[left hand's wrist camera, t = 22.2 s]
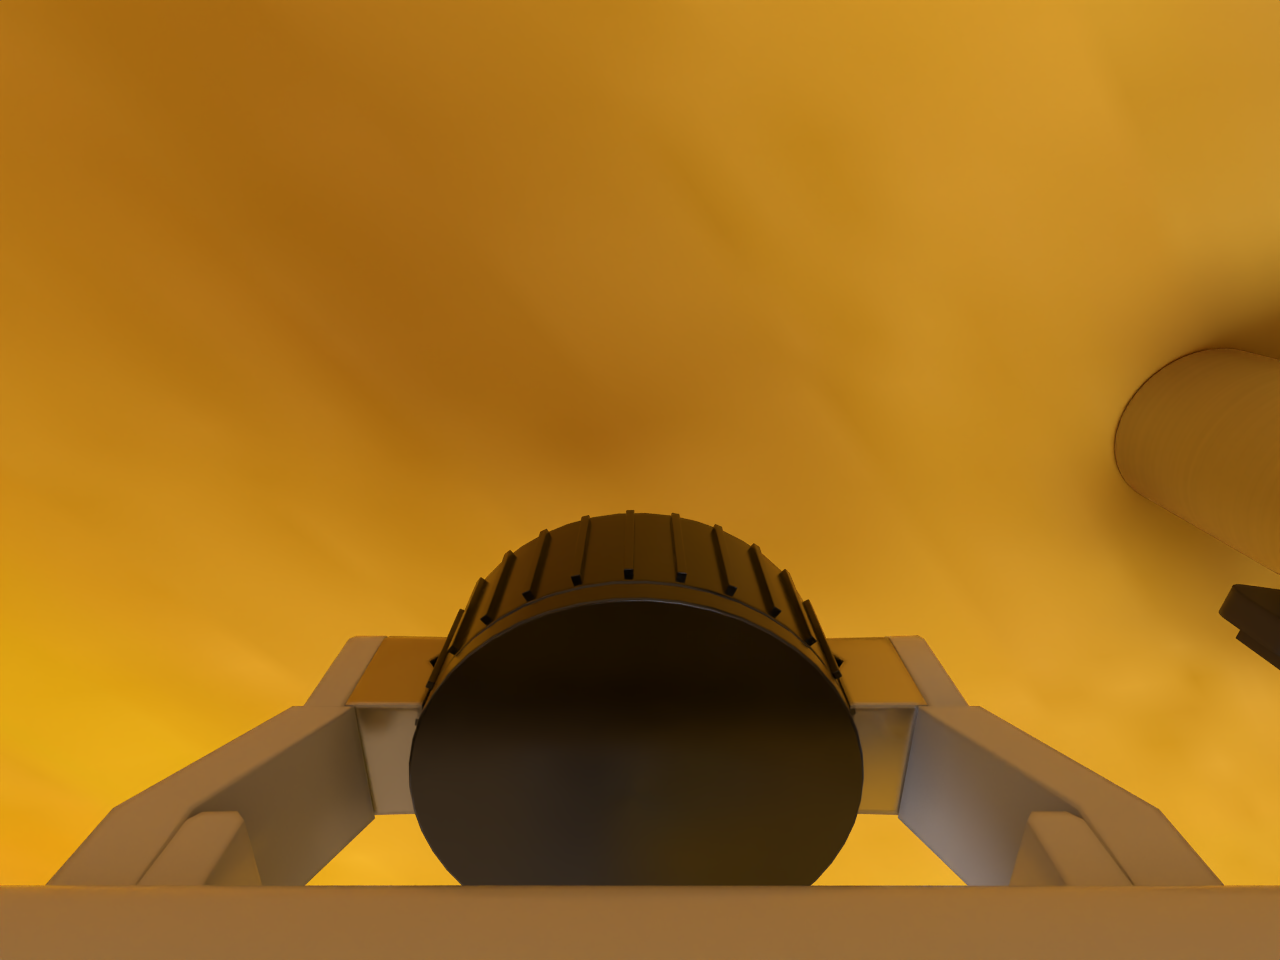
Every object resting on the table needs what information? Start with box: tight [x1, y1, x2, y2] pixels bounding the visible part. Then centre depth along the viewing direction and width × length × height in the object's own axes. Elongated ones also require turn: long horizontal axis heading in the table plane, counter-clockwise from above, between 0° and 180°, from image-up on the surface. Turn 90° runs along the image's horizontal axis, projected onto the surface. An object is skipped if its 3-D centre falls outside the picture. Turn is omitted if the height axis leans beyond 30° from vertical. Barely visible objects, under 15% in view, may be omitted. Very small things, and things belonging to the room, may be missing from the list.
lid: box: [409, 510, 864, 886], centre depth 9 cm, size 6×6×2 cm
